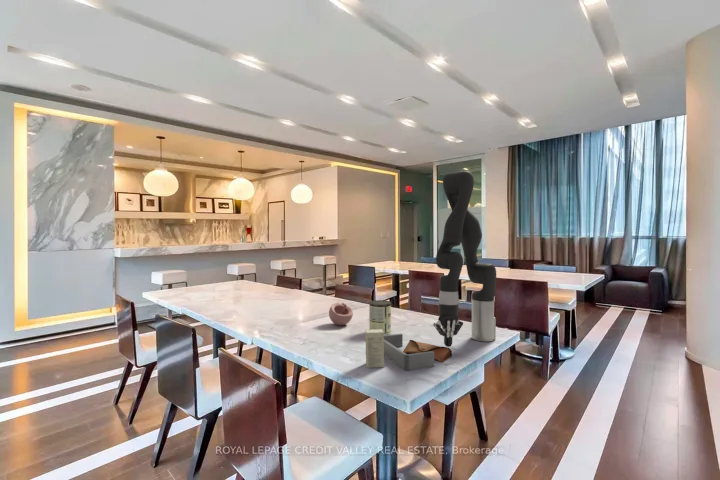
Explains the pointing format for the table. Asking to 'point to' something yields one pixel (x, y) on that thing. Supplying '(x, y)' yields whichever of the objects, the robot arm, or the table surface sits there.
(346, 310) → the mortar and pestle
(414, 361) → the gray u-shaped bracket
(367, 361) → the skincare box
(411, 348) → the sunglasses case
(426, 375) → the table surface
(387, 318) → the coffee can
